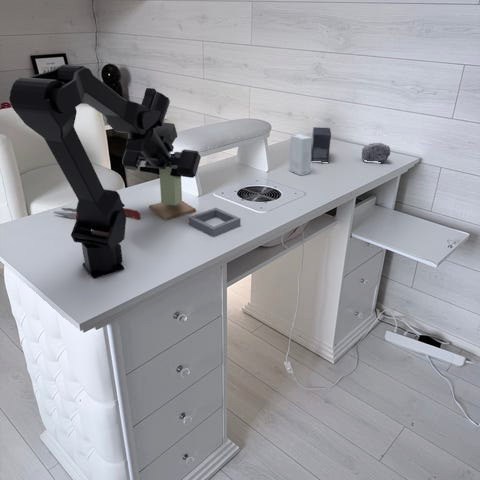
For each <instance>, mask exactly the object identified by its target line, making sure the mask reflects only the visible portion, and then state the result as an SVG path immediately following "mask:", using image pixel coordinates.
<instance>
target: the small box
mask: <svg viewBox="0 0 480 480" xmlns="http://www.w3.org/2000/svg"><path fill="white" fill-rule="evenodd" d="M331 132H332V130H331V128H330V127H320V126H319V127H313V128H312V134H311V135H312V136H311V138H312V146H311V160H310V162H311V161H321V162H328V163H329V160H330V159H329V158H330V149H331V139H332V133H331Z"/></svg>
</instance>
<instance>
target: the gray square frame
mask: <svg viewBox="0 0 480 480" xmlns="http://www.w3.org/2000/svg"><path fill="white" fill-rule="evenodd" d="M214 218H216V219H219V220H221V221H223V222H222V223H219V224H216V225H214V226H213V225H211V224H210V223H207V222H206V221H209V220H211V219H214ZM188 225H189V226H191V227H192V228H195V229H196V230H199V231H201V232H203V233H205V234H206V235H209V236H210V237H212V238H214V237H217V236H220V235H221V234H224V233H226V232H229V231H231V230H233V229H236V228H238V227H240V226H241V217H238V216H236V215H233V214H231V213H229V212H227V211H225V210H222V209H220V208H218V207H214V208H211V209H207V210H205V211H202V212H200V213H197V214H193V215H191V216H188Z"/></svg>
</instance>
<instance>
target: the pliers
mask: <svg viewBox="0 0 480 480" xmlns="http://www.w3.org/2000/svg"><path fill="white" fill-rule="evenodd" d="M76 208H77V207H76ZM76 208H75V207H73V208H72V207H61V209H62V210H57V211H55V210H54V211H53V213H54V214H56V215H59V216H63V217H66V218H69V219H74V220H75V221H76V220H77V217H78V215H77V212H76ZM123 208H124V211H125V214H126V218H129V219H135V220H140V219H141V213H140V212H139V210H135V209H131V208H127V207H126V208H125V207H123ZM93 231H96V230H93ZM96 232H102V231H96ZM102 233H107V232H102ZM107 234H109V233H107Z"/></svg>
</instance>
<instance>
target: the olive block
mask: <svg viewBox="0 0 480 480" xmlns="http://www.w3.org/2000/svg"><path fill="white" fill-rule="evenodd" d="M171 170H172V168H169V167H166V168H165V169H159V174H160V176H159V184H160V185H159V187H160V201H161V202H160V203H162V204H169V205H177V204H178V203H179V202H180V201H181V200H182V201H183V193H182V190H183V189H182V188H183V187H182V178H181V179H179V178H176V177H173V176H170V173H171Z"/></svg>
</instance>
